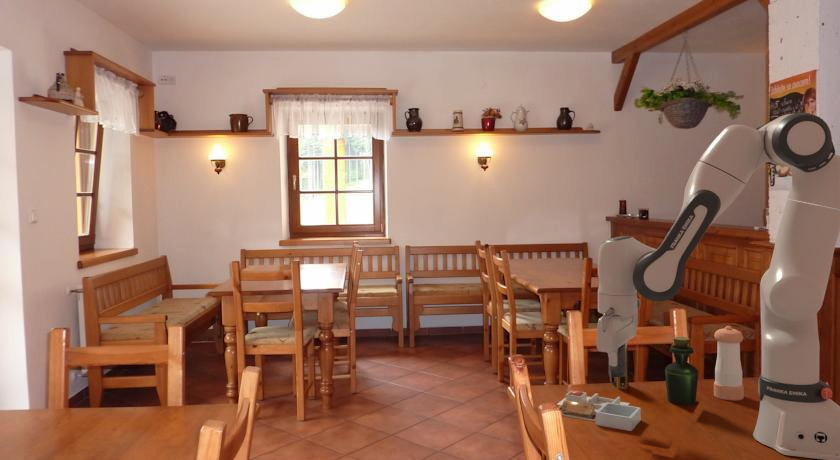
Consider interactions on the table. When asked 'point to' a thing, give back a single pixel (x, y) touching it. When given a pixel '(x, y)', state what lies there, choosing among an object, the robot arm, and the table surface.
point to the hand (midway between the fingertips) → (617, 363)
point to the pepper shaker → (728, 365)
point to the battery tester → (592, 400)
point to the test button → (576, 393)
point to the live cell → (578, 409)
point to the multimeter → (622, 381)
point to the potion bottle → (681, 375)
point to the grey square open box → (618, 416)
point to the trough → (578, 416)
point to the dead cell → (620, 368)
